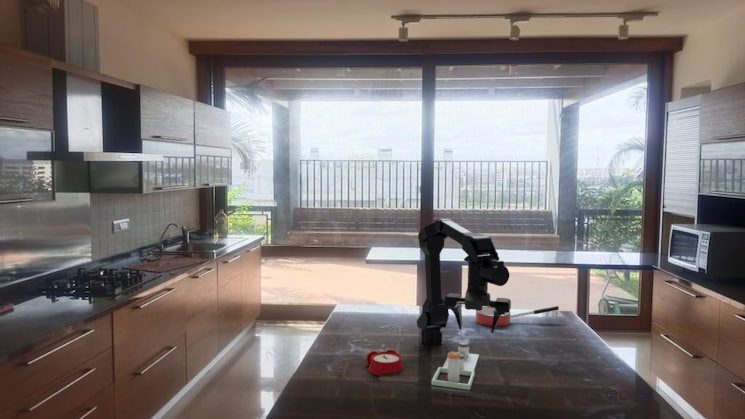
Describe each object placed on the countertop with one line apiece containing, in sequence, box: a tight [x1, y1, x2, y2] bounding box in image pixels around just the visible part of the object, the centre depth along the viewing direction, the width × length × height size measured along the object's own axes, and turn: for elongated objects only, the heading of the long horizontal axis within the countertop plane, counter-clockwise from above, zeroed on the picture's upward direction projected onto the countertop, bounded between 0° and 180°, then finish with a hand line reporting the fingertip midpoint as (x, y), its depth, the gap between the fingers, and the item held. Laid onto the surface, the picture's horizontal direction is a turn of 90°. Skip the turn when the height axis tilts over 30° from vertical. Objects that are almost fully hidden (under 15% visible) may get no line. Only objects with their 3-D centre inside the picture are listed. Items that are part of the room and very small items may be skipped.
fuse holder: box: [442, 341, 480, 371], centre depth 156 cm, size 9×17×5 cm, turn 162°
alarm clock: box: [366, 349, 405, 377], centre depth 153 cm, size 10×6×15 cm
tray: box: [431, 366, 475, 394], centre depth 142 cm, size 10×10×2 cm
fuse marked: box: [447, 351, 460, 383], centre depth 142 cm, size 3×3×8 cm
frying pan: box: [475, 305, 560, 328], centre depth 202 cm, size 32×13×6 cm, turn 97°
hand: (476, 331), depth 151 cm, fingers open, 9 cm apart
